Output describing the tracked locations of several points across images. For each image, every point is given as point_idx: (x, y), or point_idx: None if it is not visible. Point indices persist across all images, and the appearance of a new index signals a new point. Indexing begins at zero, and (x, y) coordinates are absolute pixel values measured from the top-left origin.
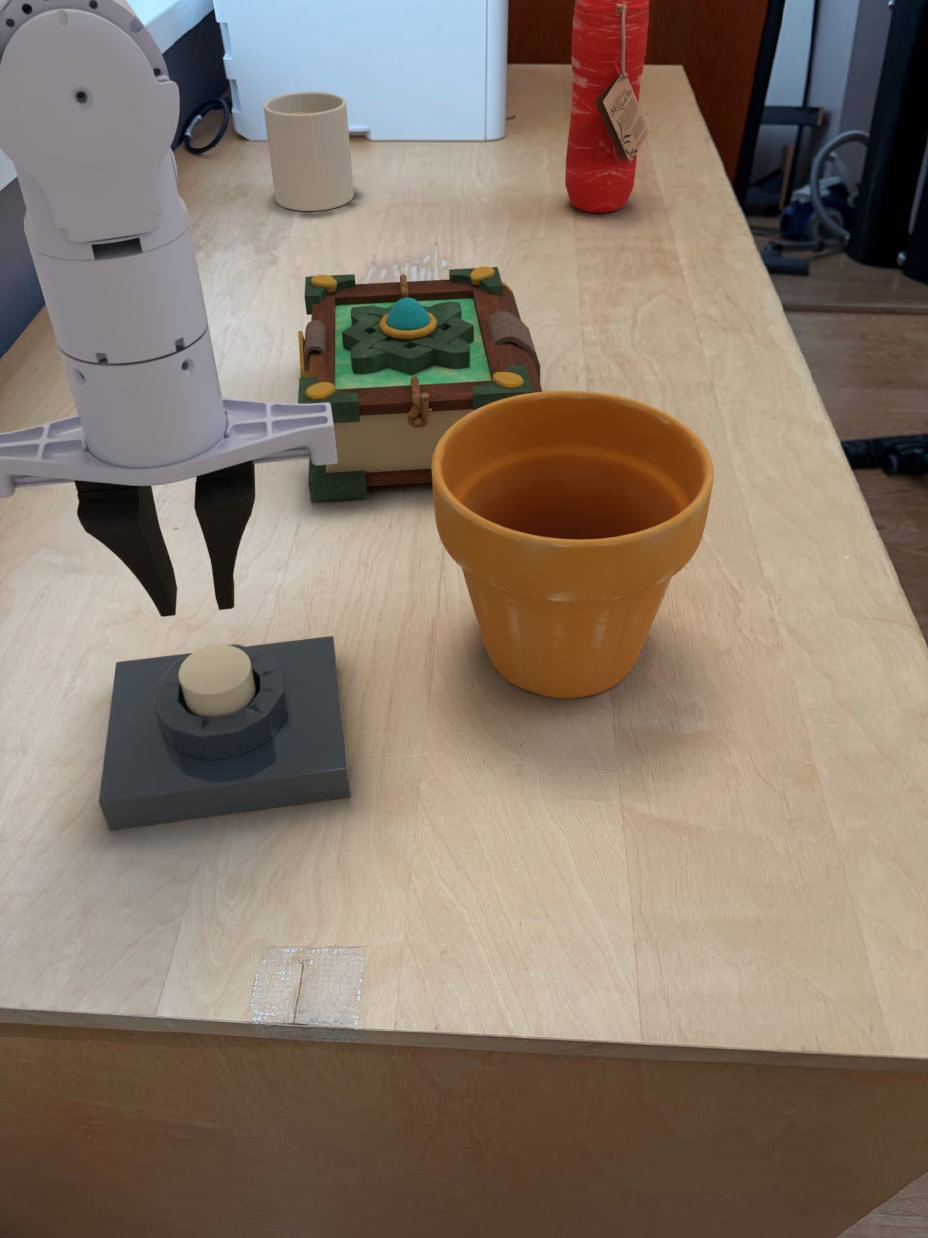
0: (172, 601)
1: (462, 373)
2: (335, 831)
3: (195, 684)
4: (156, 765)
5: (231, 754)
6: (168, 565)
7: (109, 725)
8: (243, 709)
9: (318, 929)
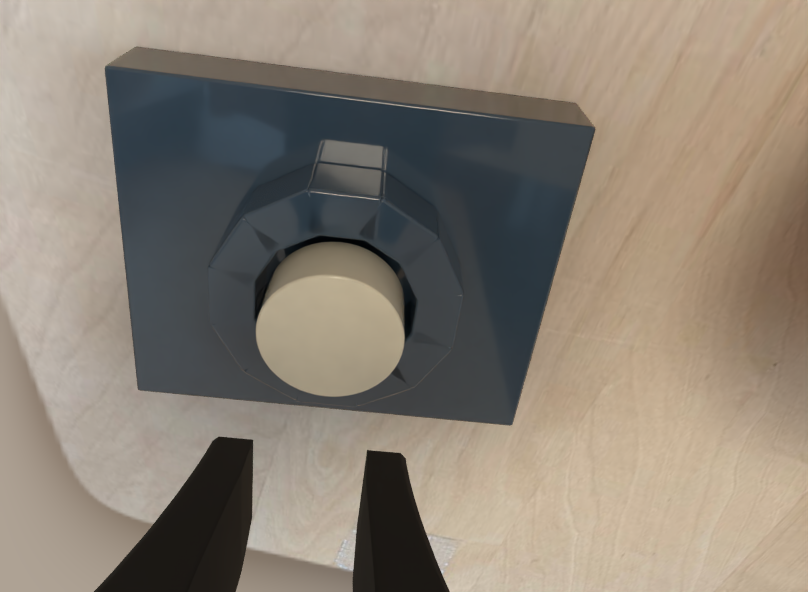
0: (244, 542)
1: None
2: (467, 421)
3: (290, 367)
4: (221, 351)
5: None
6: (228, 536)
7: (125, 248)
8: None
9: None
